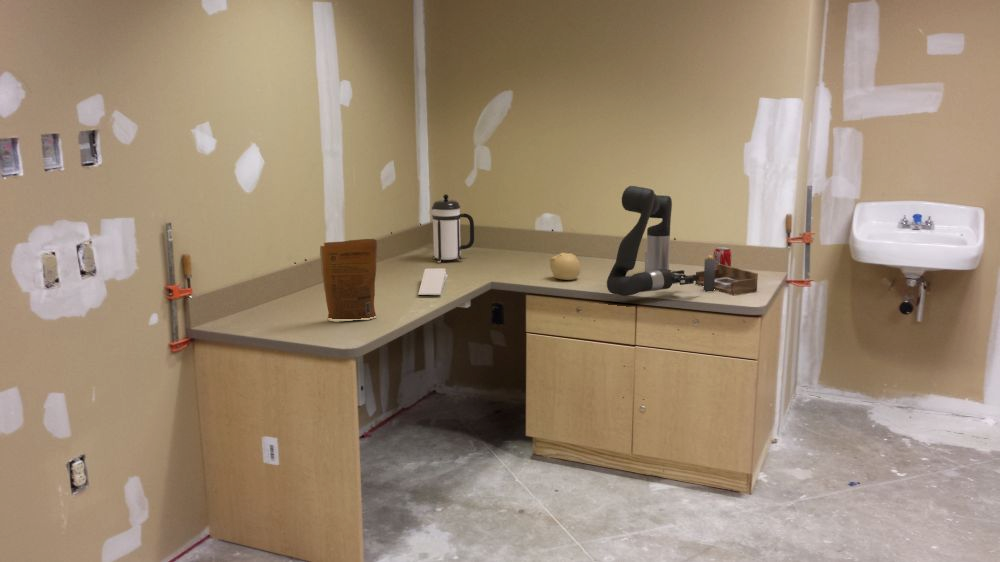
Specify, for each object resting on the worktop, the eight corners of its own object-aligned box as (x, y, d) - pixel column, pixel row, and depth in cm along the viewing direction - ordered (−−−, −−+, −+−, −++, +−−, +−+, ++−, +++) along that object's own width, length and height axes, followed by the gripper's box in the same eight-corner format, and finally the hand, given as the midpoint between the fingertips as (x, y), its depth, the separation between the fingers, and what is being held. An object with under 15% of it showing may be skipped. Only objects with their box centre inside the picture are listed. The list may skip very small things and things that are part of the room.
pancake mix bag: (381, 321, 301) (378, 239, 294) (323, 324, 297) (319, 242, 291) (380, 316, 307) (376, 236, 301) (323, 319, 304) (319, 238, 297)
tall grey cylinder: (701, 290, 341) (702, 255, 338) (709, 288, 343) (710, 254, 340) (708, 292, 338) (709, 257, 335) (716, 290, 339) (717, 256, 336)
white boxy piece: (440, 312, 335) (445, 285, 361) (444, 294, 332) (449, 269, 359) (414, 306, 334) (421, 280, 361) (418, 288, 332) (425, 263, 358)
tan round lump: (570, 274, 370) (570, 249, 367) (585, 280, 359) (585, 254, 357) (546, 277, 365) (546, 251, 362) (560, 283, 354) (560, 256, 352)
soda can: (730, 278, 360) (732, 249, 357) (712, 278, 361) (714, 249, 358) (730, 275, 366) (731, 246, 364) (712, 274, 368) (713, 245, 365)
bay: (695, 284, 350) (696, 266, 349) (718, 280, 356) (719, 263, 354) (733, 295, 332) (733, 276, 331) (756, 291, 338) (757, 273, 336)
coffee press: (452, 265, 390) (451, 197, 383) (424, 261, 398) (422, 195, 392) (475, 258, 404) (474, 193, 397) (447, 255, 413) (445, 191, 406)
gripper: (669, 273, 320) (704, 268, 328) (645, 266, 332) (679, 262, 340) (668, 293, 322) (703, 288, 329) (644, 286, 334) (678, 281, 341)
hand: (691, 275), depth 335 cm, fingers open, 8 cm apart
